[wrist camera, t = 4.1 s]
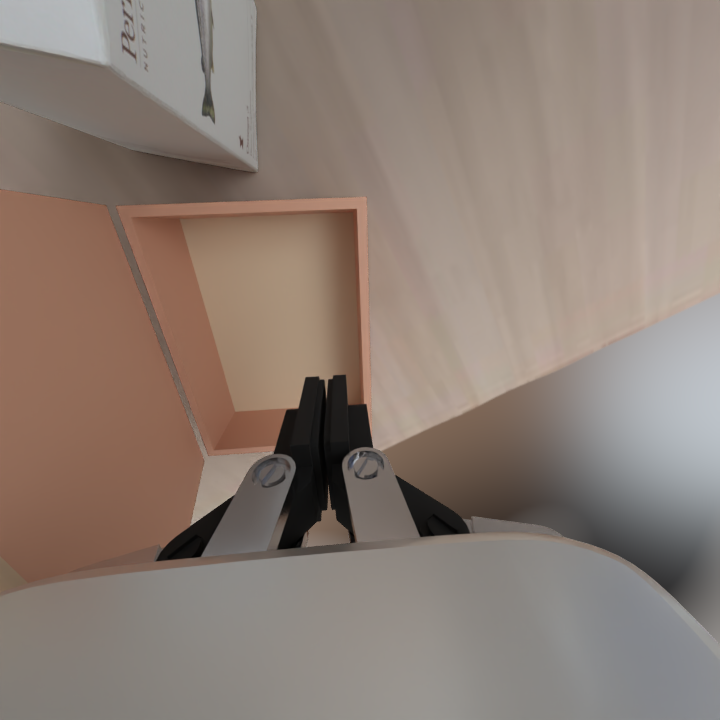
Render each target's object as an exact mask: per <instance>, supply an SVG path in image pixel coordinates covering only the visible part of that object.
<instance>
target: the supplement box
mask: <svg viewBox="0 0 720 720" xmlns="http://www.w3.org/2000/svg"><path fill="white" fill-rule="evenodd" d="M256 19H257V9H256V5H255V3H254V0H0V102H3V103H5V104H8V105H11V106H14V107H16V108H19V109H22V110H24V111H27V112H30V113H33V114H35V115H38V116H41V117H44V118H46V119H49V120H52V121H55V122H57V123H60V124H63V125H65V126H68V127H71V128H74V129H76V130H79V131H82V132H84V133H87V134H90V135H93V136H95V137H98V138H101V139H103V140H106V141H109V142H112V143H114V144H117V145H120V146H122V147H125V148H128V149H131V150H134V151H140V152H145V153H151V154H156V155H161V156H167V157H172V158H177V159H182V160H187V161H193V162H198V163H204V164H210V165H215V166H221V167H226V168H232V169H237V170H243V171H249V172H257V171H258V155H257V131H256Z"/></svg>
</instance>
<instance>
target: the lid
mask: <svg viewBox="0 0 720 720" xmlns="http://www.w3.org/2000/svg"><path fill="white" fill-rule="evenodd" d="M203 465H204V458H203V456H202V453H201V451H200V448H199V445H198V443H197V440H196V438H195V435H194V432H193V430H192V427H191V425H190V422H189V419H188V417H187V414H186V412H185V409H184V406H183V404H182V401H181V399H180V396H179V393H178V391H177V388H176V386H175V383H174V380H173V378H172V375H171V373H170V370H169V367H168V365H167V362H166V360H165V357H164V354H163V352H162V349H161V347H160V344H159V341H158V339H157V336H156V334H155V331H154V328H153V326H152V323H151V321H150V318H149V315H148V313H147V310H146V308H145V305H144V302H143V300H142V297H141V295H140V292H139V289H138V287H137V284H136V282H135V279H134V276H133V274H132V271H131V269H130V266H129V263H128V261H127V258H126V256H125V253H124V250H123V248H122V245H121V243H120V240H119V238H118V235H117V232H116V230H115V227H114V225H113V222H112V219H111V217H110V214H109V212H108V209H107V206H106V205H101V204H94V203H88V202H81V201H74V200H68V199H61V198H55V197H48V196H41V195H35V194H28V193H22V192H15V191H8V190H2V189H0V592H2V591H5V590H8V589H11V588H15V587H18V586H21V585H24V584H27V583H30V582H34V581H37V580H41V579H45V578H49V577H54V576H58V575H62V574H67V573H69V572H71V571H74V570H76V569H78V568H81V567H84V566H87V565H91V564H94V563H98V562H101V561H104V560H108V559H111V558H114V557H118V556H121V555H124V554H128V553H131V552H135V551H138V550H141V549H145V548H148V547H151V546H155V545H158V544H159V545H160V546H161V548H163V547H165V546H166V545H167V544H168V543H169V542H170V541H171V540H172V539H174V538H175V537H176V536H177V535H179V534H180V533H181V532H183V531H184V530H186V529H187V528H189V527H190V524H191V519H192V515H193V510H194V506H195V501H196V497H197V492H198V488H199V483H200V479H201V474H202V470H203Z"/></svg>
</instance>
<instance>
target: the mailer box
mask: <svg viewBox="0 0 720 720" xmlns="http://www.w3.org/2000/svg"><path fill="white" fill-rule="evenodd" d="M116 208H117V211H118V214H119V216H120V219H121V222H122V224H123V227H124V230H125V233H126V235H127V238H128V241H129V243H130V246H131V249H132V251H133V254H134V257H135V259H136V262H137V265H138V268H139V270H140V273H141V276H142V278H143V281H144V284H145V286H146V289H147V292H148V294H149V297H150V300H151V302H152V305H153V308H154V311H155V313H156V316H157V319H158V321H159V324H160V327H161V329H162V332H163V335H164V337H165V340H166V343H167V345H168V348H169V351H170V354H171V356H172V359H173V362H174V364H175V367H176V370H177V372H178V375H179V378H180V380H181V383H182V386H183V388H184V391H185V394H186V397H187V399H188V402H189V405H190V407H191V410H192V413H193V415H194V418H195V421H196V423H197V426H198V429H199V431H200V434H201V437H202V440H203V442H204V445H205V448H206V450H207V453H208V456H215V455H229V454H242V453H255V452H269V451H274V450H275V447H276V443H277V440H278V436H279V433H280V429H281V426H282V423H283V419H284V416H285V412H286V410H287V409H298V408H299V403H300V399H301V395H302V390H303V386H304V381H305V377H316V376H319V378H320V380H322V379H324V381H325V389H326V398H327V387H328V379H333V375H346V381H347V395H348V405H357V404H367V410H368V417H369V424H370V430H371V437H372V414H371V368H370V323H369V278H368V233H367V197H344V198H317V199H289V200H261V201H234V202H206V203H179V204H151V205H124V206H116Z"/></svg>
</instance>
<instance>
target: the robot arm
mask: <svg viewBox="0 0 720 720" xmlns="http://www.w3.org/2000/svg"><path fill="white" fill-rule="evenodd" d="M328 485H329V493H330V500H331V508H332V510H336V518H337V521H338V522H340V523H341V524H342V525H343V526H344V527H345V528H346V529H348V533H349V534H348V535H349V541H350V543H347V544H336V545H326V546H314V547H306V546H307V542H308V534H309V532H308V530H309V529H310V528H311V527H312V526H313V525H314V524H315V523H316V522H317V521H321V513H322V510H327V503H328ZM0 720H720V644H719V643H718V642H717V641H716V640H715V639H714V638H713V637H712V636H711V635H710V634H709V633H708V632H707V631H706V630H705V629H704V627H703V626H701V624H700V623H699V622H697V620H695V619H694V617H692V616H691V614H690V613H688V611H686V610H685V609H684V608H683V607H682V606H681V605H680V604H679V603H678V602H677V601H676V600H675V599H674V598H673V597H672V596H671V595H670V594H669V593H668V592H667V591H666V590H665V589H664V588H662V587H661V586H660V585H659V584H658V583H657V582H656V581H654V580H653V579H652V578H651V577H649V576H648V575H647V574H646V573H644V572H643V571H641V570H640V569H639V568H637V567H636V566H635V565H633V564H632V563H630V562H628V561H626V560H625V559H623V558H621V557H619V556H617V555H615V554H613V553H610V552H608V551H606V550H604V549H601V548H598V547H595V546H593V545H590V544H586V543H583V542H579V541H576V540H572V539H568V538H565V537H563V536H562V535H560V534H559V533H557V532H555V531H554V530H552V529H550V528H547V527H543V526H539V525H532V524H525V523H517V522H510V521H502V520H495V519H488V518H480V517H472V518H471V520H466V519H462V518H461V517H460V516H459V515H458V514H456V513H455V512H454V511H452V510H451V509H449V508H448V507H446V506H444V505H443V504H441V503H440V502H438V501H436V500H435V499H433V498H432V497H430V496H428V495H427V494H425V493H424V492H422V491H420V490H419V489H417V488H415V487H414V486H412V485H411V484H409V483H407V482H406V481H404V480H402V479H401V478H399V477H398V476H396V475H395V474H394V472H393V470H392V467H391V465H390V462H389V460H388V458H387V457H386V455H385V454H384V453H383V452H381V451H380V450H377V449H375V448H373V444H372V437H371V430H370V424H369V417H368V410H367V404H357V405H348V395H347V381H346V375H333V379H328V387H327V398H326V389H325V381H324V379H322V380H320V378H319V376H316V377H305V381H304V386H303V390H302V395H301V399H300V403H299V408H298V409H287V410H286V412H285V416H284V419H283V423H282V426H281V429H280V433H279V436H278V440H277V443H276V447H275V450H274V454H272V455H269V456H266V457H264V458H262V459H260V460H258V461H257V462H256V463H255V464H253V465H252V467H251V468H250V469H249V471H248V473H247V474H246V476H245V478H244V480H243V482H242V483H241V485H240V487H239V489H238V491H237V492H236V494H235V495H234V496H232V497H231V498H230V499H228V500H227V501H225V502H224V503H223V504H221V505H220V506H218V507H217V508H215V509H214V510H213V511H211V512H210V513H208V514H207V515H206V516H204V517H203V518H201V519H200V520H198V521H197V522H196V523H194V524H193V525H191V526H190V527H189V528H187V529H186V530H184V531H183V532H181V533H180V534H179V535H177V536H176V537H175V538H174V539H172V540H171V541H170V542H169V543H168V544H167V545H166V546H165V547H163V548H161V546H160V545H159V544H158V545H155V546H151V547H148V548H145V549H141V550H138V551H135V552H131V553H128V554H124V555H121V556H118V557H114V558H111V559H108V560H104V561H101V562H98V563H94V564H91V565H87V566H84V567H81V568H78V569H76V570H74V571H71V572H69V573H67V574H62V575H58V576H54V577H49V578H45V579H41V580H37V581H34V582H30V583H27V584H24V585H21V586H18V587H15V588H11V589H8V590H5V591H2V592H0Z"/></svg>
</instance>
